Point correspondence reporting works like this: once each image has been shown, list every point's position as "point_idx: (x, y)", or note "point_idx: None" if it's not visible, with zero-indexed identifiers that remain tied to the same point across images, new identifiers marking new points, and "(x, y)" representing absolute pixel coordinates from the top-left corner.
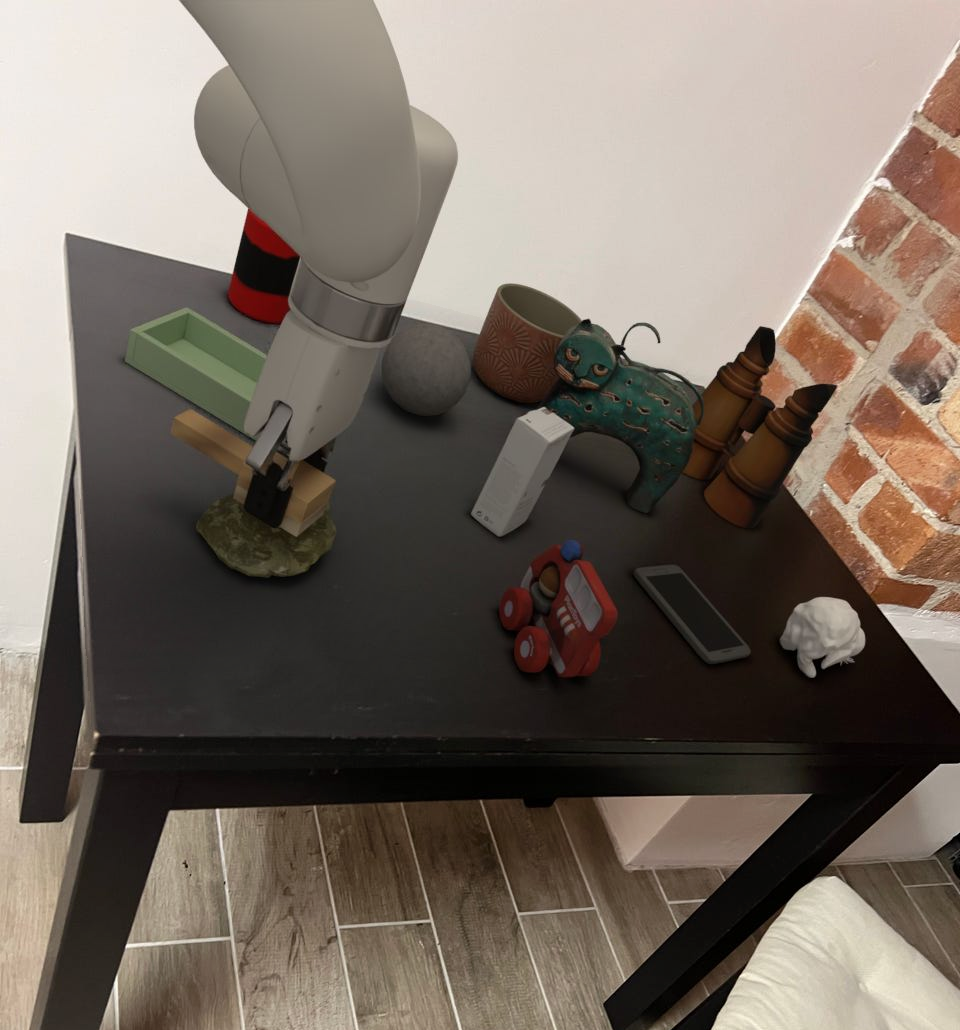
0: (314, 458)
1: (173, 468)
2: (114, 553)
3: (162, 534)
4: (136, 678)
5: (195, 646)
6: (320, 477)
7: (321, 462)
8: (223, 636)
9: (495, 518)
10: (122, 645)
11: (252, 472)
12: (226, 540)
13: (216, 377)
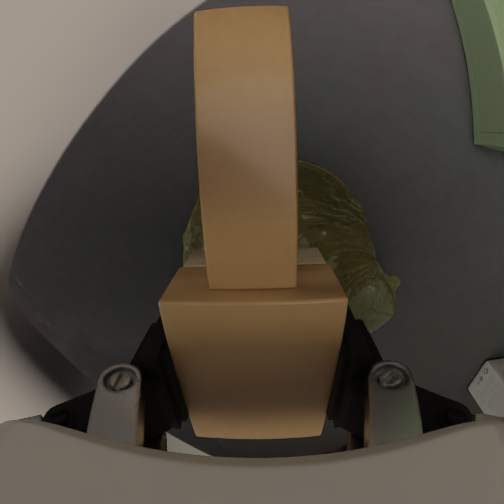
0: (340, 410)
1: (323, 53)
2: (99, 138)
3: (174, 142)
4: (30, 278)
5: (81, 294)
6: (300, 423)
7: (337, 422)
8: (110, 306)
9: (479, 388)
10: (36, 247)
11: (108, 369)
12: (202, 236)
13: (498, 30)
